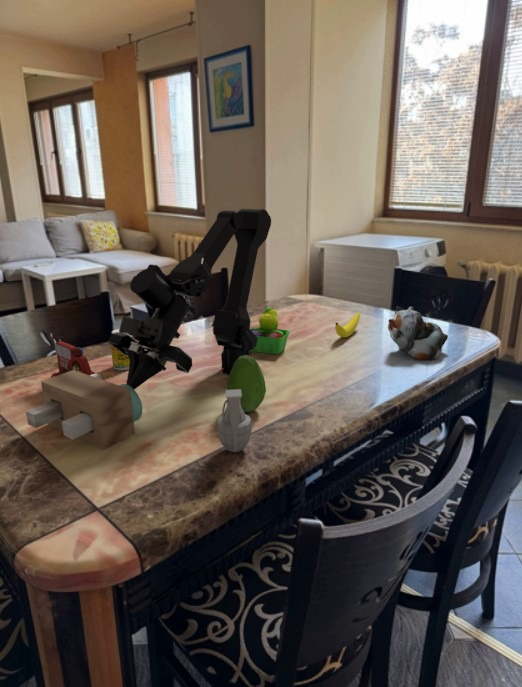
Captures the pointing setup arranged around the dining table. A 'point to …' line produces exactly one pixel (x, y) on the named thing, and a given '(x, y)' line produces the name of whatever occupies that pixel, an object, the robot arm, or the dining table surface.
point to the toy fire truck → (71, 359)
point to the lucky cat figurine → (416, 334)
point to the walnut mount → (86, 407)
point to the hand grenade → (234, 423)
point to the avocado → (247, 382)
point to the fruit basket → (269, 333)
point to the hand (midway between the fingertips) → (128, 390)
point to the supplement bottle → (119, 357)
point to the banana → (348, 327)
